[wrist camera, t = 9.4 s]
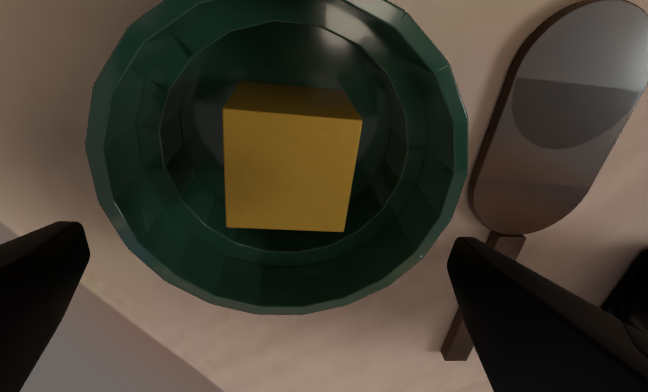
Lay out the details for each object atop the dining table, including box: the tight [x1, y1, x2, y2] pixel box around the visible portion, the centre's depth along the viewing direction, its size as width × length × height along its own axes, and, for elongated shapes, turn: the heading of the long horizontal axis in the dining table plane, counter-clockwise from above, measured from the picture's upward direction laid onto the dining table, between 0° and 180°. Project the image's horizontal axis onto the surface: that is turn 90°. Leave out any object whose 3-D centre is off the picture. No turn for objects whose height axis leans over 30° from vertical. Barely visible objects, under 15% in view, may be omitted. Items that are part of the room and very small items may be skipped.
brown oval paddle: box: [441, 0, 648, 361], centre depth 19 cm, size 23×7×1 cm, turn 174°
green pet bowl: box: [85, 0, 468, 315], centre depth 14 cm, size 12×12×6 cm
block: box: [222, 80, 363, 232], centre depth 14 cm, size 4×4×4 cm
